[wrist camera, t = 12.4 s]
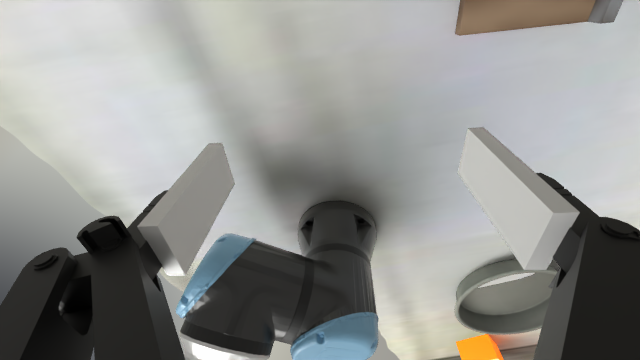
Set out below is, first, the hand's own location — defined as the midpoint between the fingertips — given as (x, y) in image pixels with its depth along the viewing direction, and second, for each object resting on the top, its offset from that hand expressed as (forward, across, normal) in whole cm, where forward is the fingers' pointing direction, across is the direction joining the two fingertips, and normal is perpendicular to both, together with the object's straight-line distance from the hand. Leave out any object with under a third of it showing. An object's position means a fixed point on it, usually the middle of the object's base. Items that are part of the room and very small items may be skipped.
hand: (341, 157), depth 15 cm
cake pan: (+27, -36, +51) cm, 68 cm away
